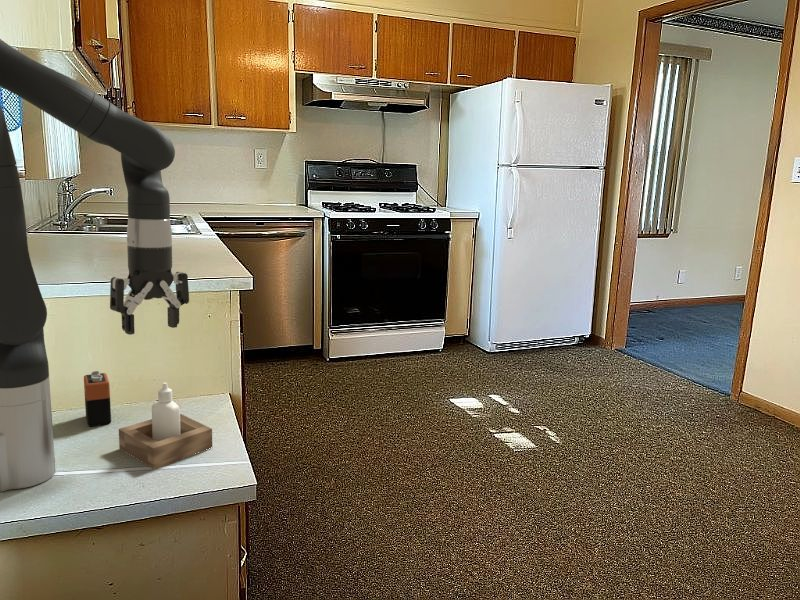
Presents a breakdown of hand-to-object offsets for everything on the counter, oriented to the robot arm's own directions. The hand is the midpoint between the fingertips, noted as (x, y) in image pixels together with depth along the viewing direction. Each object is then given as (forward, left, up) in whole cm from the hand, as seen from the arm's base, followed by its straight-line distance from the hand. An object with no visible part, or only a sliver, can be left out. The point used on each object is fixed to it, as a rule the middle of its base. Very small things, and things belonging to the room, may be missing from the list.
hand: (151, 330), depth 115 cm
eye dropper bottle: (0, -4, -22) cm, 22 cm away
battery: (-2, +18, -23) cm, 29 cm away
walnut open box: (0, -4, -23) cm, 23 cm away
